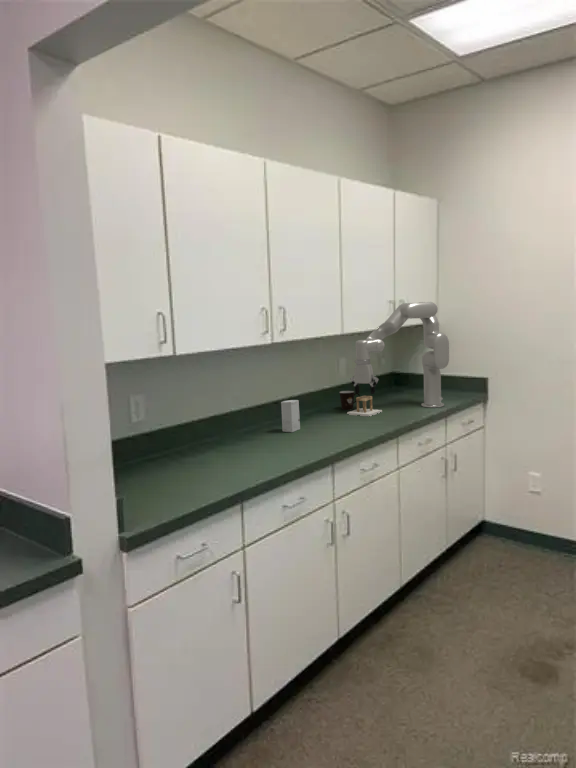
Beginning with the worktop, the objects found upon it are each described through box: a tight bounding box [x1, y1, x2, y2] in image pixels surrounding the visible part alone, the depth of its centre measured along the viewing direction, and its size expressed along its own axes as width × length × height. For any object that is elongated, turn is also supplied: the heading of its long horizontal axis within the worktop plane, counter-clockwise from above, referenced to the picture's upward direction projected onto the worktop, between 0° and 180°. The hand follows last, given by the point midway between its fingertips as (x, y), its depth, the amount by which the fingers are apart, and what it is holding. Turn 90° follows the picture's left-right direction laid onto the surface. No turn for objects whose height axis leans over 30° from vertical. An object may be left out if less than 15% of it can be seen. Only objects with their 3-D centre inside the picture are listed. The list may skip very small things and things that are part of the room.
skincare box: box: [280, 399, 301, 433], centre depth 288 cm, size 8×6×15 cm
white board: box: [346, 407, 383, 417], centre depth 325 cm, size 14×14×1 cm
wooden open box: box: [355, 395, 373, 413], centre depth 324 cm, size 6×8×8 cm
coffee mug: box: [339, 390, 361, 411], centre depth 340 cm, size 12×9×10 cm
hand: (365, 393), depth 324 cm, fingers open, 9 cm apart
